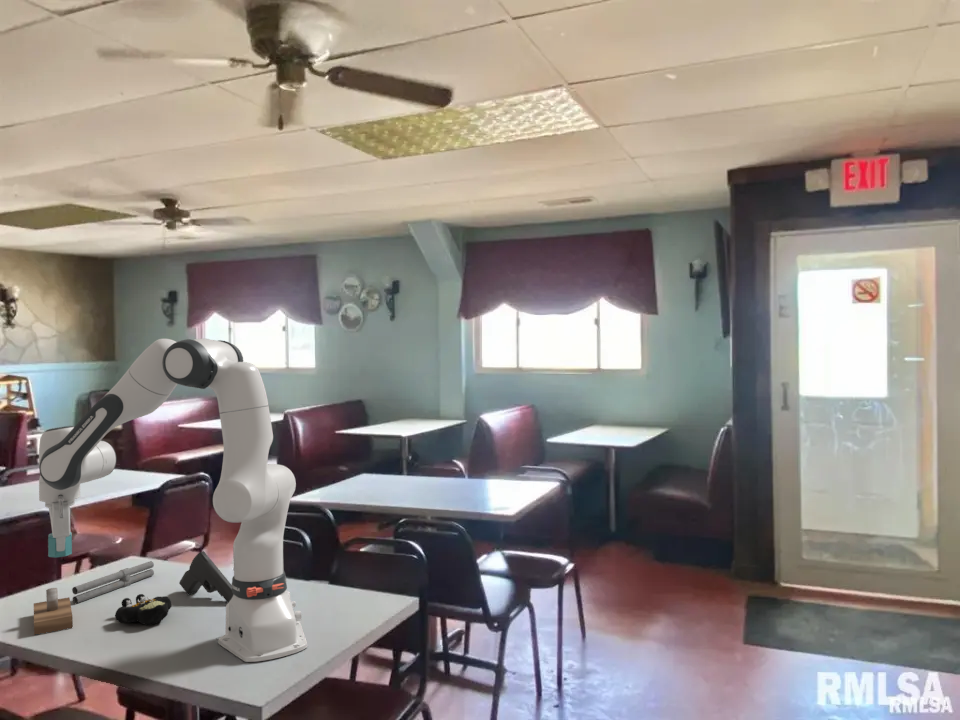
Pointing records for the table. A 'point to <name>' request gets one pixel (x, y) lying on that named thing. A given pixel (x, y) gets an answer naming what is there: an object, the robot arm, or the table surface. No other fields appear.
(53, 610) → the stud block
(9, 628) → the table surface
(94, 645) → the table surface
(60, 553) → the cap
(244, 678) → the table surface
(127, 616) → the toy
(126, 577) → the metal rod assembly
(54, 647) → the table surface
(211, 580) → the pistol
